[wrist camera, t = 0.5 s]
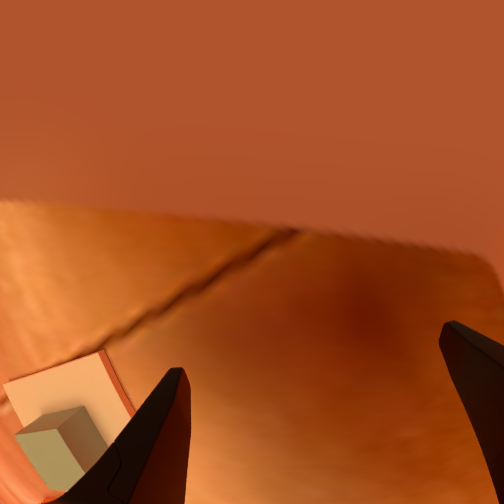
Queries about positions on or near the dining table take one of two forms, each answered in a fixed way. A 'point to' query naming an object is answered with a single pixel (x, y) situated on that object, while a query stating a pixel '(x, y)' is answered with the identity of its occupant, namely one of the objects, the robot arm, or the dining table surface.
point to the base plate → (74, 394)
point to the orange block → (48, 500)
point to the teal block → (62, 446)
